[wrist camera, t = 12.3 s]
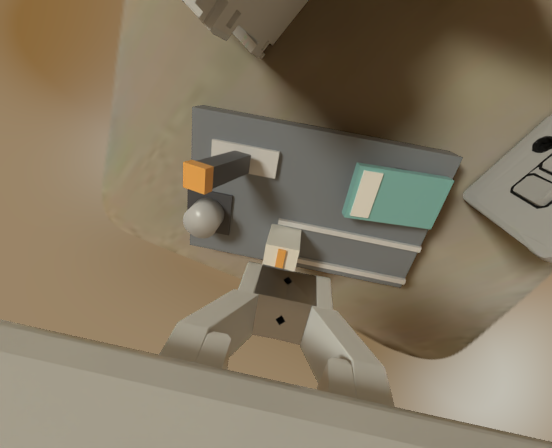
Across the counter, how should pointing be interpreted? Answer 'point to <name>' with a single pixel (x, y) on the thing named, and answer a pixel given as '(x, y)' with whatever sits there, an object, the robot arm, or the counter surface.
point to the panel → (309, 192)
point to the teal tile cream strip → (395, 196)
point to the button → (203, 218)
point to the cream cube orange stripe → (282, 247)
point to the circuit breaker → (247, 19)
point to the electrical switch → (521, 191)
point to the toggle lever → (214, 171)
